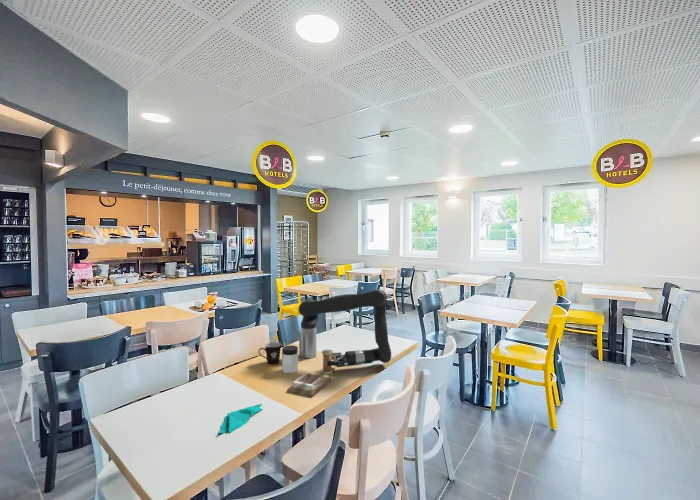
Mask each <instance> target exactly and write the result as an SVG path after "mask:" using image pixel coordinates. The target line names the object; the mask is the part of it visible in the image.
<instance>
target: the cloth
mask: <svg viewBox="0 0 700 500" xmlns="http://www.w3.org/2000/svg"><path fill="white" fill-rule="evenodd" d="M262 404H263V403H259V404H256V405H252V406H246V407H244V408H239V409H237V410H235V411H230V412H228V413H227V415H226V416H224V418H223V422H222V423H221V425H220V426H219V430H218V433H217V434H216V436H215V437H216V438H218V436H219V435H220V434H226V433H228V432H229V434H231V433H233V432H234V431H236V430H238V429H240V428H241V427H243V426H244V425H246V424H247V423H248V422H249V421H250V418H251V417H252V416H254V415H255V414H257V413H258V412H260V411H263V409H262V408H261V405H262ZM262 406H263V405H262Z"/></svg>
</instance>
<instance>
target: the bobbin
mask: <svg viewBox="0 0 700 500" xmlns="http://www.w3.org/2000/svg"><path fill="white" fill-rule="evenodd" d="M333 351H334V350H332V349H324V350H323V349H322V350H321V354H322V357H323V358H322V363H323V364H322V369H321V373H322V374H324V375H330V374H333V369H332V366H327V361H333V360H332V354H333V353H334V352H333Z"/></svg>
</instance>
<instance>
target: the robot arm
mask: <svg viewBox="0 0 700 500" xmlns="http://www.w3.org/2000/svg"><path fill="white" fill-rule="evenodd" d="M387 300H388V296H387V293H386V292H385V290H383V289H381V288H379V289H374V290H371V291H368V292H364V293H352V294H351V293H348V294H339V295H335V296H332V297H327V298H325V299H324V298H323V299H321V300H314V299H313V298H312V299H311V298H309V299H306V300H304V301H302V302H301V303H300V304H299V306H298V313H299V314H300V315H301V316H302V320H301V322H300V339H299V341H298V343H299V344H298V345H299V346H298V357H301V358H304V359H313V358H315V357H316V356H317V329H318V328H317V323H318V319H319V314H327V313H328V314H329V313H330V314H331V313H340V312H346V311H352V310H355V309H359V308H360V309H361V308H368V307H370V308H371V307H373V309H374V340H375V343H376V345H377V347H376V348H371V349H362V350H360V349H359V350H357V349H356V350H348V351H345V353H344V354H342V352H333V354H332V361H327V366H331V367H333V366H334V367H336V368H342V367H351V366H352V367H353V366H360V365H361V366H362V365H367V364H372V363H374V362H378V361H379V362H381V363H383V364H387V363H389V362H390V361H391V360H392V350H391V345H390V342H389V335H388V324H387Z"/></svg>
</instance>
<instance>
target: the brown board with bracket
mask: <svg viewBox="0 0 700 500" xmlns="http://www.w3.org/2000/svg"><path fill="white" fill-rule="evenodd" d="M331 381H332V377H328V376H323V375H317V374H313V373H312V374H311V373H307V374H305V373H303V374H302V375H301V376H299V377H298V378H296V379H295V380H294V381H292V385H291V386H290V387H288V388H287V390H286V391H287V393H292V394H296V395H301V396H305V397H309V398H313V397H315V396H316V395H317V394H318V393H319V392H320V391H321V390H322V389H324V388H325V387H326V386H327V385H328V384H329V383H330V382H331Z"/></svg>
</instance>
